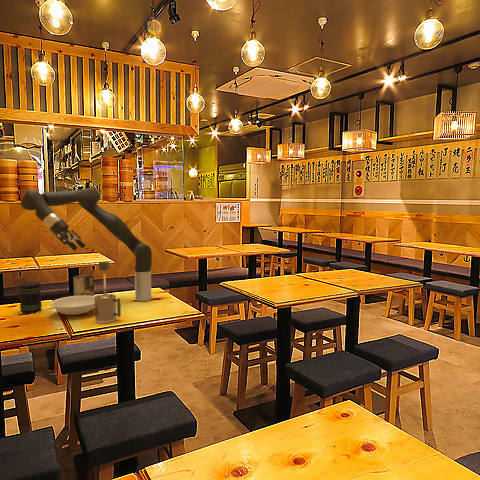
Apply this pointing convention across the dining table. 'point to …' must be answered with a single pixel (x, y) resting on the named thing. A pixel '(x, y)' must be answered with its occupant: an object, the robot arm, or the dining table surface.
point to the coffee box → (83, 285)
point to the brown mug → (107, 308)
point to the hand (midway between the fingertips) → (80, 248)
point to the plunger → (104, 267)
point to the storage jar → (30, 297)
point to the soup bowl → (74, 304)
